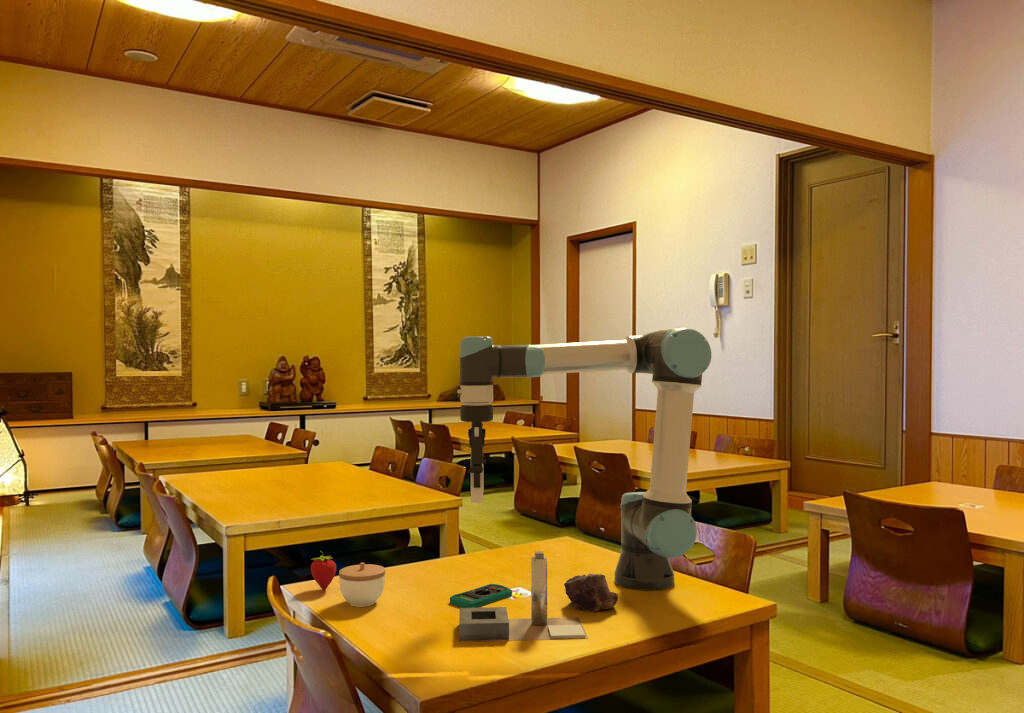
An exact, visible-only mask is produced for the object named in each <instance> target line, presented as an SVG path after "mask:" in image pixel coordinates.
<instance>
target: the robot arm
mask: <svg viewBox="0 0 1024 713" xmlns="http://www.w3.org/2000/svg"><path fill="white" fill-rule="evenodd" d="M459 343H460V345H459V356H458V357H459V381H460V382H459V384H460V387H459V388H460V389H457V392H456V393H457V394H459V395H460V398H459V400H460V403H461V406H460V410H459V413H460V414H459V416H460V417H459V419H460V421H461V422H466V423H471V424H470V425H471V427H470V428H468V429H467V431H468V432H467V436H468V442H469V445H468V447H469V448H470V468H467V473H468V474H470V503H484V492H485V491H484V489H485V486H484V485H485V484H484V480H485V479H484V478H485V477H484V464H487V458H484V455H483V454H484V452H483V448H484V447H485V441H486V440H485V438H486V428H483V427H484V425H483V422H484V423H485V422H487V423H488V422H492V421H493V419H494V406H493V405H492V404H491V403H493V402H494V382H493V381H494V378H496V379H497V378H498V379H499V378H528V379H530V378H537V377H539V378H540V377H541V376H542V375H552V374H570V373H571V374H572V373H573V374H574V373H575V374H576V373H589V372H590V373H592V372H606V371H607V372H609V371H626V372H627V373H628V374H650V375H652V377H651V379H652V380H651V381H652V384H653V385H654V387H656V389H657V397H656V406H655V407H656V408H655V422H654V431H653V433H654V434H653V443H652V444H653V445H652V457H651V458H652V459H651V470H650V481H649V489H647V490H646V491H637V492H636V491H635V492H624V493H623V494H622V495H621V500H620V502H621V503H620V505H619V506H620V507H619V508H620V525H621V526H620V532H621V534H620V535H621V536H620V538H621V539H620V540H621V541H620V542H621V544H620V545H621V546H620V547H621V549H620V555H619V558H618V561H617V564H616V567H615V570H614V583H616V585H619V586H621V587H624V588H627V589H630V590H631V589H632V590H638V591H639V590H641V591H660V590H665V589H669V588H671V587H673V586H674V585H675V572H674V570H673V567H672V564H671V561H670V559H674V558H678V557H681V556H683V555H686V553H688V551H690V550H691V549H692V548H693V546H694V545H695V542H696V540H697V535H698V527H697V524H696V522H695V520H694V518H693V517H692V506H693V504H692V503H693V501H692V499H691V498H690V496H689V495H688V494H687V484H688V471H689V470H688V469H689V462H690V461H689V458H690V446H691V435H692V433H691V432H692V424H693V423H692V422H693V421H692V420H693V411H694V400H695V399H694V398H695V392H696V391H698V390H699V389H700V388H702V381H703V374H704V373H706V370H707V369H708V368H709V367H710V364H711V363H712V362H711V360H712V348H711V345H710V342H709V341H708V339H707V338H706V336H704V335H703V334H702V333H701V332H700V331H698V330H696V329H693V328H689V327H685V326H684V327H675V328H670V329H669V328H667V329H660V330H657V331H652V332H649V333H643V334H637V335H627V336H626V337H625V338H624V339H621V340H618V339H617V340H599V341H583V342H582V341H580V342H565V343H547V344H546V343H545V344H544V343H542V344H506V345H505V344H503V345H497V344H494V342H493V338H492V337H491V336H464V337H462V338H461V340H460V342H459Z"/></svg>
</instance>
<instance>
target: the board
mask: <svg viewBox="0 0 1024 713" xmlns="http://www.w3.org/2000/svg"><path fill="white" fill-rule="evenodd" d="M508 620H509V640H477V641H459V640H458V641H459V643H470V642H471V643H473V642H474V643H477V642H478V643H479V642H480V643H481V642H482V643H483V642H515V641H518V642H519V641H520V642H521V641H552V640H553V641H556V640H561V641H562V640H589V637H588V635H587V633H586V631H585V630H586V629H585V628H584V626H583V623H582V621H581V619H580V617H578V616H576V617H575V616H574V617H573V616H572V617H547V625H546V626H533V625H532V624H531V617H530V618H527V617H526V618H508ZM549 625H581V626H582V628H583V631H584V633H585V638H557V639H551V637H550V634H549V630H548V626H549Z"/></svg>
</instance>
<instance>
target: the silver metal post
mask: <svg viewBox="0 0 1024 713" xmlns="http://www.w3.org/2000/svg"><path fill="white" fill-rule="evenodd" d="M544 554H545V553H544V551H543V550H542V551H541V550H540V551H538V550H537V551H536V550H535V551H534V556H532V557H530V561H531V562H530V565H531V566H530V567H531V569H530V574H531V575H530V577H531V578H530V579H531V580H530V581H531V583H530V584H531V586H530V587H531V588H530V589H531V590H530V592H531V593H530V594H531V595H530V597H531V598H530V600H531V601H530V602H531V606H530V607H531V608H530V609H531V613H530V614H531V615H530V618H531V624H532V625H533V626H546V625H547V618H548V557H546V556H544Z"/></svg>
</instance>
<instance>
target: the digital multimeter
mask: <svg viewBox="0 0 1024 713" xmlns="http://www.w3.org/2000/svg"><path fill="white" fill-rule="evenodd" d="M512 596H513V590H512V589H511V588H509V587H507V586H504V585H501V584H497V583H489V584H486V585H483V586H480V587H477V588H474V589H470V590H467V591H463V592H460V593H456V594H453V595H451V596H450V597H449V604H451V605H453V606H456V607H459V608H481V607H483V606H485V605H488V604H491V603H493V602H496V601H500V600H503V599H506V598H509V597H512Z"/></svg>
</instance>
